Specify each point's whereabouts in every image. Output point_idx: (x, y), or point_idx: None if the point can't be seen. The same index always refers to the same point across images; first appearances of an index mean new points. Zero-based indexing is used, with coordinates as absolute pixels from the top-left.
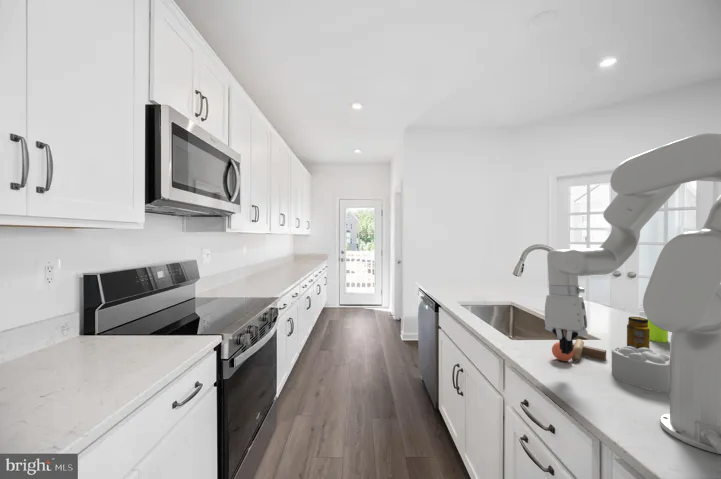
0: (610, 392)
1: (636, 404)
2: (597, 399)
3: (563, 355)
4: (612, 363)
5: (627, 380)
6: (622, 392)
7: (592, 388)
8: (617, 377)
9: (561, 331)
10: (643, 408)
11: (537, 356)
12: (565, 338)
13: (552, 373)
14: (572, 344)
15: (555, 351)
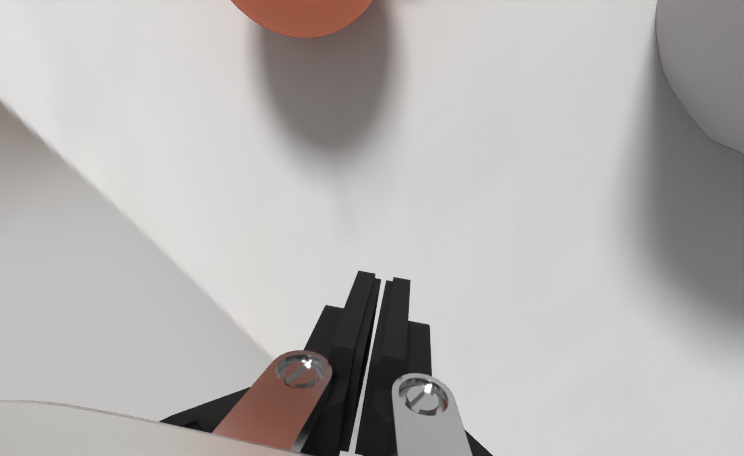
0: (591, 342)
1: (680, 401)
2: (528, 437)
3: (326, 34)
4: (727, 16)
5: (733, 145)
6: (650, 309)
7: (514, 345)
8: (678, 94)
9: (266, 444)
10: (698, 421)
11: (152, 6)
12: (348, 386)
13: (321, 274)
14: (429, 365)
15: (253, 19)
